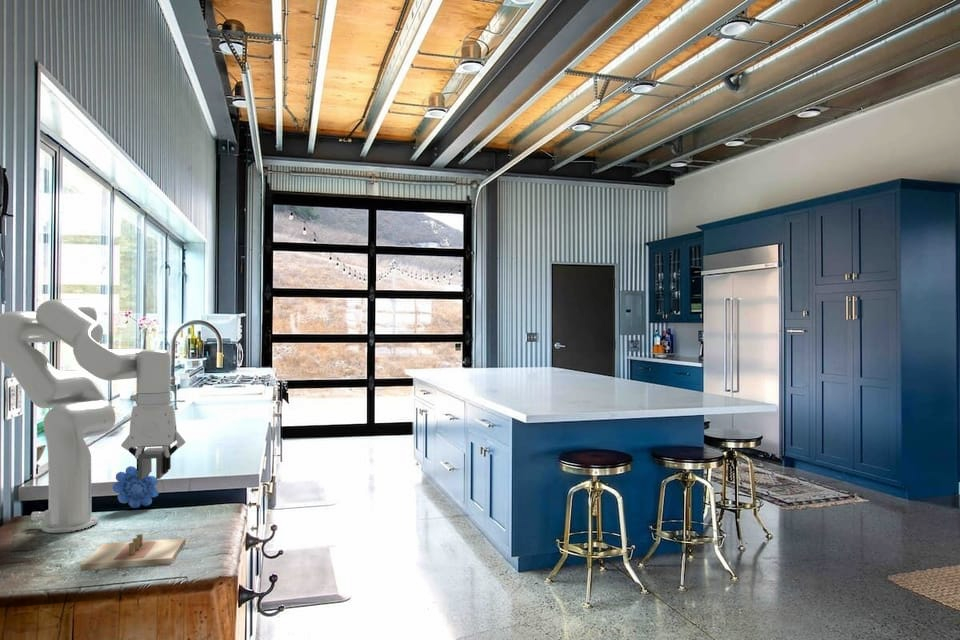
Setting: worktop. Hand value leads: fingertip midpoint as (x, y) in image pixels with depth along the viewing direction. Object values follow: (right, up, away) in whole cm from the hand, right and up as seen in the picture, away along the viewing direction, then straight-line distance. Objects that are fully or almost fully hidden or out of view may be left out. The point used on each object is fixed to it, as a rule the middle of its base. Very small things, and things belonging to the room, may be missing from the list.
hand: (153, 472), depth 169 cm
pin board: (+3, -15, -15) cm, 22 cm away
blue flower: (-16, -16, +23) cm, 32 cm away
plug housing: (0, -1, 0) cm, 1 cm away
